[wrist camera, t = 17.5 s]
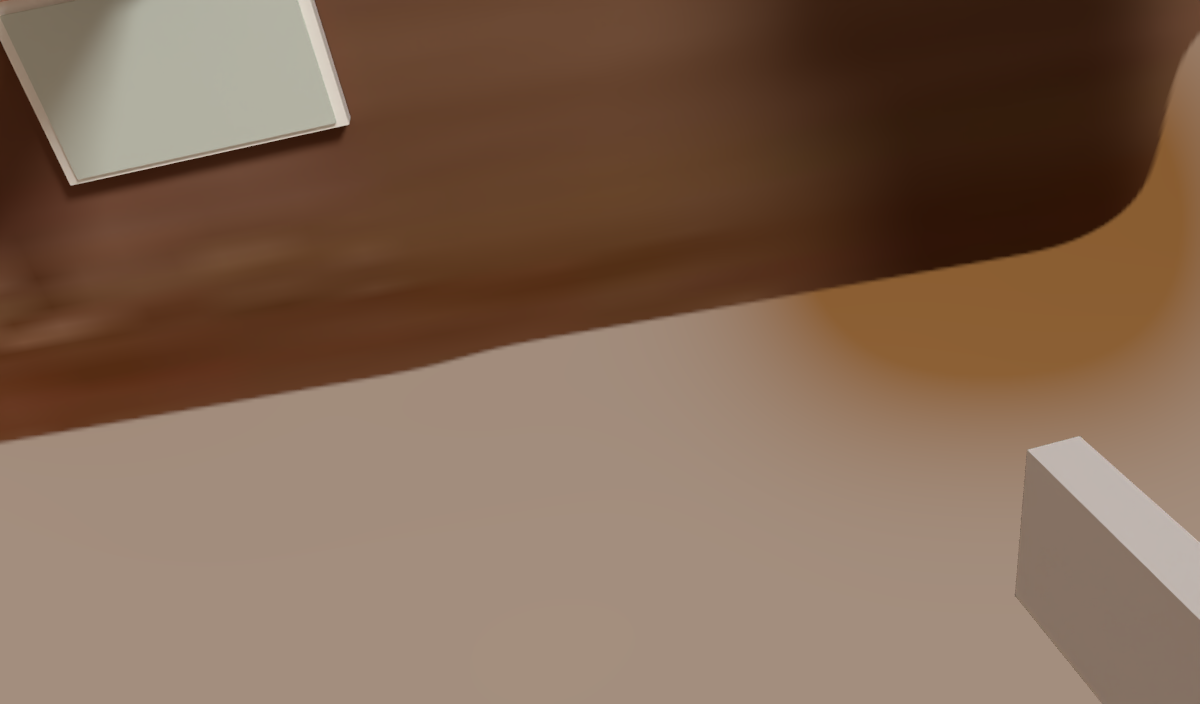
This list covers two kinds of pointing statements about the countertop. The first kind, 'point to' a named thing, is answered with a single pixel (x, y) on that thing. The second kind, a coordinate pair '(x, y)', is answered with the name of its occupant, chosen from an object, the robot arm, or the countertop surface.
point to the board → (169, 77)
